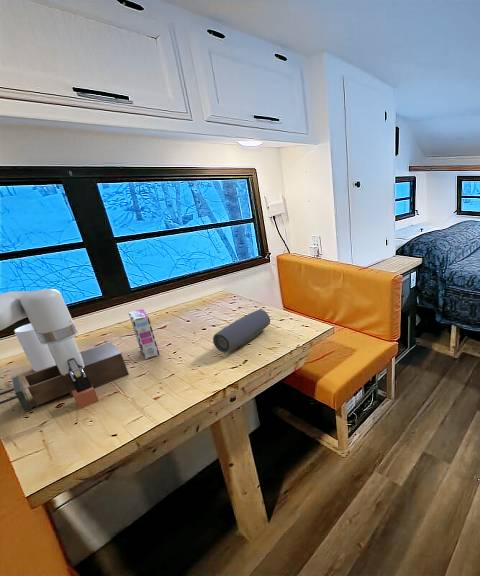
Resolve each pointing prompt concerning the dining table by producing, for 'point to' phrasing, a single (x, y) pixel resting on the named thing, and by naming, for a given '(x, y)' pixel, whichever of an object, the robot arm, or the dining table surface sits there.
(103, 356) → the cabinet
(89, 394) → the block
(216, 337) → the bluetooth speaker
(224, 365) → the dining table surface
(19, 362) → the dining table surface
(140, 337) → the candy bar box
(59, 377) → the drawer
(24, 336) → the cup
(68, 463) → the dining table surface
